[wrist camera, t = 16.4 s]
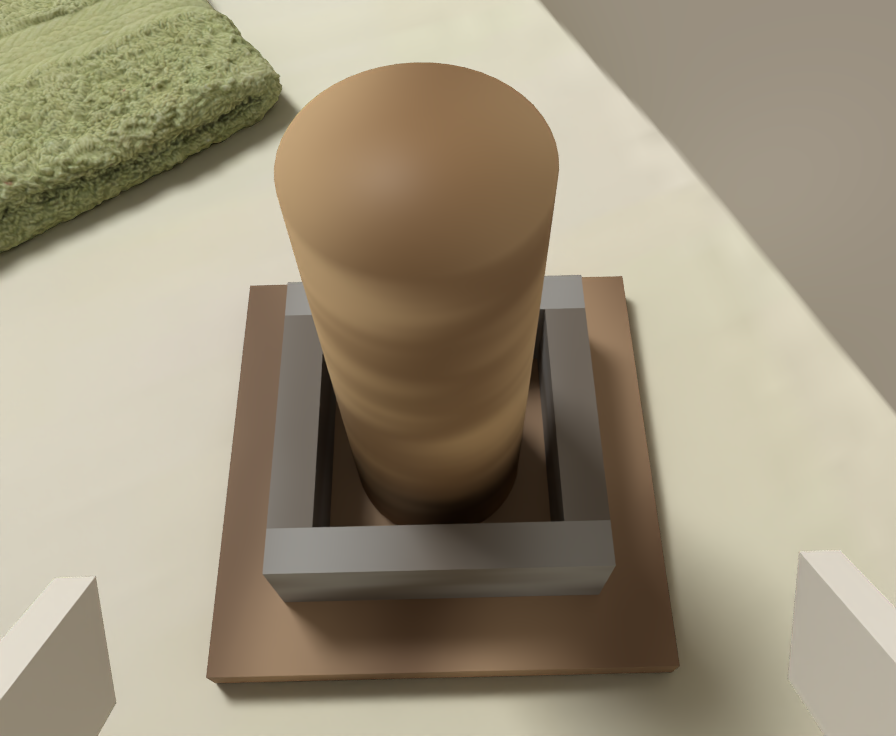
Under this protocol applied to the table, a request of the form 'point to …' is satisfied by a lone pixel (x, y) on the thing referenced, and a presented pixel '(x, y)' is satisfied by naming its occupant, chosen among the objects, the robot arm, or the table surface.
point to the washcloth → (113, 99)
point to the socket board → (442, 545)
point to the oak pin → (424, 275)
